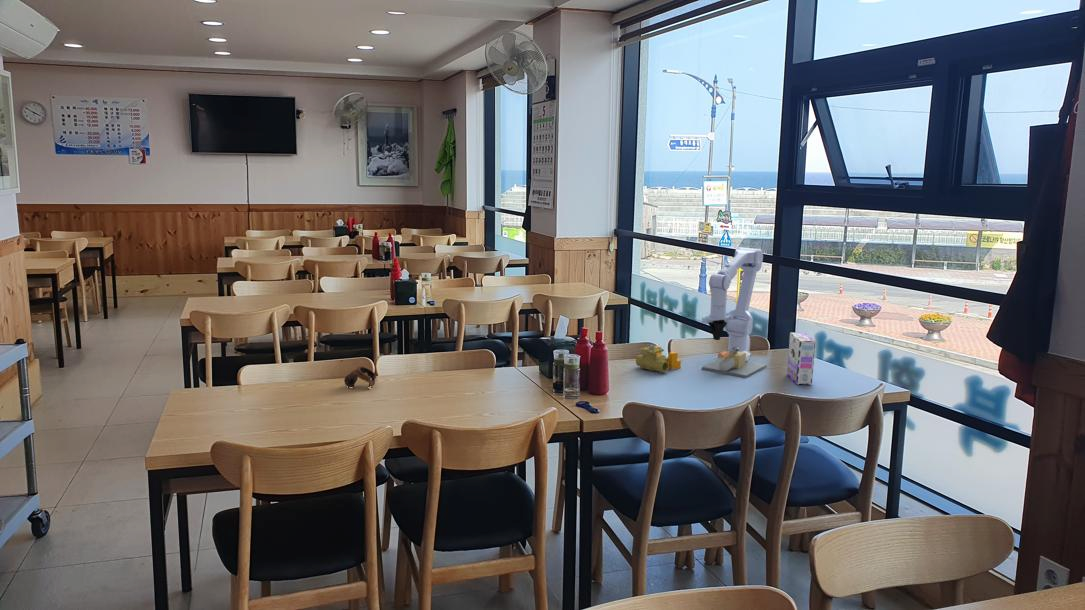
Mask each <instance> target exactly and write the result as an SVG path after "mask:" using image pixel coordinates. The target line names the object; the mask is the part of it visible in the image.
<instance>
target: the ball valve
mask: <svg viewBox="0 0 1085 610" xmlns="http://www.w3.org/2000/svg"><path fill="white" fill-rule="evenodd" d="M655 346H656V345H654V344H650V345H649V346H645V347H641V348H640V349H639V351H640V352H646V353H644V354H641V353H640V354H638V355H636V357H635V364H636V366H638V367H640V368H641V369H642V370H649V371H652V372H654V371H658V372H661V373H664V374H665V373H667V372H669V370H670V369H669V362H667V358H668V357H666V355H665V354H663V352H664V351H665V350H664V348H662V347H661V348H655ZM659 352H662V354H660V355H656V353H659Z"/></svg>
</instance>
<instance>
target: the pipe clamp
mask: <svg viewBox="0 0 1085 610" xmlns="http://www.w3.org/2000/svg"><path fill="white" fill-rule="evenodd" d="M655 348H661V349H662V346H660V345H655ZM660 354H662V355H663V352H659V353H656V355H660ZM678 354H679V353H678V352H676V351H670V352H668V356H667V357H666V358H667V362H669V369H668V370H677V369H681V366H682V360H680V359H678V357H679V356H678Z"/></svg>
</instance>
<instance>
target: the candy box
mask: <svg viewBox="0 0 1085 610" xmlns="http://www.w3.org/2000/svg"><path fill="white" fill-rule="evenodd" d="M788 338H789V339H788V340H789V342H788V357H787V371H786V375H787V376H788V377H789V378H790V379H791V381H793V383H795V385H799V384H802V386H805V385H806V386H812V385H813V375H814V363H815V354H816V353H815V352H816V350H815V349H816V343H817V342H816V340H814V339H813V338H812V337H810V336H809V335H808V334H807V333H805V332H789V337H788Z"/></svg>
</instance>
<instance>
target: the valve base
mask: <svg viewBox="0 0 1085 610" xmlns="http://www.w3.org/2000/svg"><path fill="white" fill-rule="evenodd" d="M749 353H750V352H749ZM749 353H748V352H747V351H742V352H738V351H736V352H733V353H731V354H729V356H727V357H725V358H718V359H716V360H714V361H712V362H709V363H707V364H705V365H702V366H701V370H704V371H709V372H714V373H719V374H724V375H729V376H735V377H740V378H745V379H747V378H749V377H752V375H755V374H756V373H758V372H761V371H762V370H764V369H765V368H767V364H766V363H760V362H755V361H754V362H753V361H749V360H750V358H751V355H750V354H749Z"/></svg>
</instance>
